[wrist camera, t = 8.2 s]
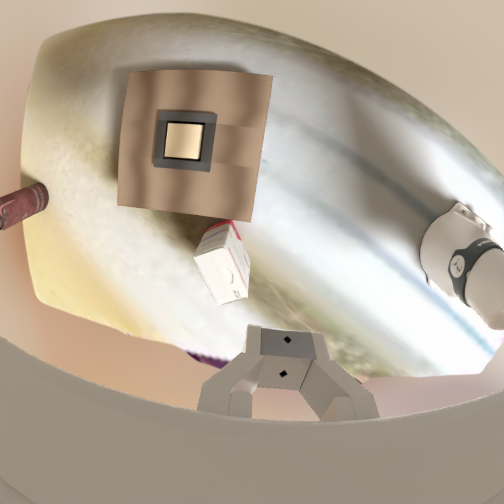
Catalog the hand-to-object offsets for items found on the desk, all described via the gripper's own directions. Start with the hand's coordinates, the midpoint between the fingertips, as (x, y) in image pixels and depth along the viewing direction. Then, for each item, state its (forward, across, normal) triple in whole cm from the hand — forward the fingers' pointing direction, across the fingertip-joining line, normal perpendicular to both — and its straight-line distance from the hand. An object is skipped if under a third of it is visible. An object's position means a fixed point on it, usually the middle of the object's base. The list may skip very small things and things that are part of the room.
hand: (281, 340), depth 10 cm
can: (+35, +48, +6) cm, 60 cm away
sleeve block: (+35, +12, -6) cm, 38 cm away
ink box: (+35, +5, +11) cm, 37 cm away
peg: (+35, +12, -6) cm, 37 cm away
